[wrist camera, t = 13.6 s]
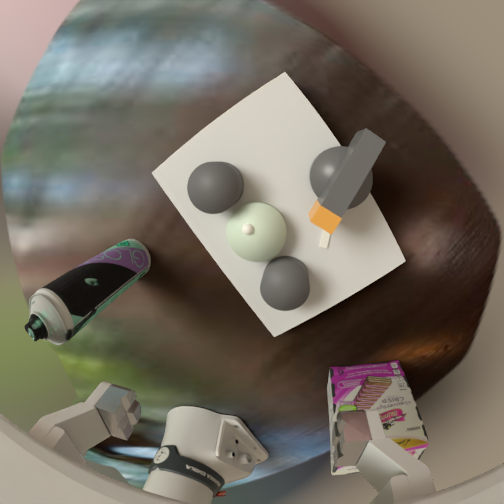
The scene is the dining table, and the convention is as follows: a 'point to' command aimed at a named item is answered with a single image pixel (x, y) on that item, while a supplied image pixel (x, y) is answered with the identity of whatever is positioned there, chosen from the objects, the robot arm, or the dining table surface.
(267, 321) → the base
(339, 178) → the wing knob
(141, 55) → the dining table surface
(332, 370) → the candy bar box
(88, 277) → the spray can
